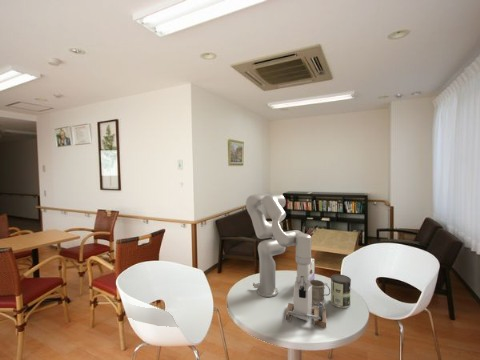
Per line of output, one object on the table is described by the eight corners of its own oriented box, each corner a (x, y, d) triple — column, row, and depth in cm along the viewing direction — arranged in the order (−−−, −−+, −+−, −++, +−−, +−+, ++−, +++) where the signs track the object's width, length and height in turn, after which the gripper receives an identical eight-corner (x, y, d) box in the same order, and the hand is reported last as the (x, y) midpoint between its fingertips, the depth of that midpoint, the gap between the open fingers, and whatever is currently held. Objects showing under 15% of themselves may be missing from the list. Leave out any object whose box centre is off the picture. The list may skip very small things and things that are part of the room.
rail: (286, 320, 125) (286, 311, 125) (287, 319, 126) (287, 310, 126) (320, 326, 121) (320, 317, 120) (320, 325, 122) (320, 316, 121)
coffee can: (348, 298, 145) (348, 274, 144) (352, 309, 135) (352, 283, 134) (329, 297, 147) (329, 273, 146) (331, 306, 137) (332, 281, 136)
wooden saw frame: (285, 320, 125) (285, 315, 125) (288, 307, 137) (288, 302, 137) (326, 327, 120) (326, 322, 120) (325, 313, 131) (325, 308, 131)
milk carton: (307, 321, 124) (308, 283, 122) (293, 316, 127) (293, 279, 126) (311, 313, 130) (312, 277, 128) (298, 309, 133) (298, 274, 132)
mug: (303, 298, 146) (304, 277, 146) (316, 293, 151) (316, 274, 151) (323, 310, 134) (323, 288, 133) (336, 305, 139) (336, 283, 138)
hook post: (318, 323, 119) (318, 305, 119) (318, 318, 123) (318, 301, 122) (322, 323, 119) (322, 306, 118) (322, 318, 122) (322, 301, 122)
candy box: (305, 281, 168) (306, 256, 166) (314, 283, 164) (315, 258, 163) (297, 289, 156) (297, 263, 155) (306, 292, 153) (307, 265, 152)
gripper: (297, 252, 136) (296, 284, 137) (293, 264, 119) (293, 300, 121) (311, 253, 134) (311, 286, 135) (310, 266, 117) (309, 303, 118)
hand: (302, 292), depth 128 cm, fingers closed on milk carton, 8 cm apart
